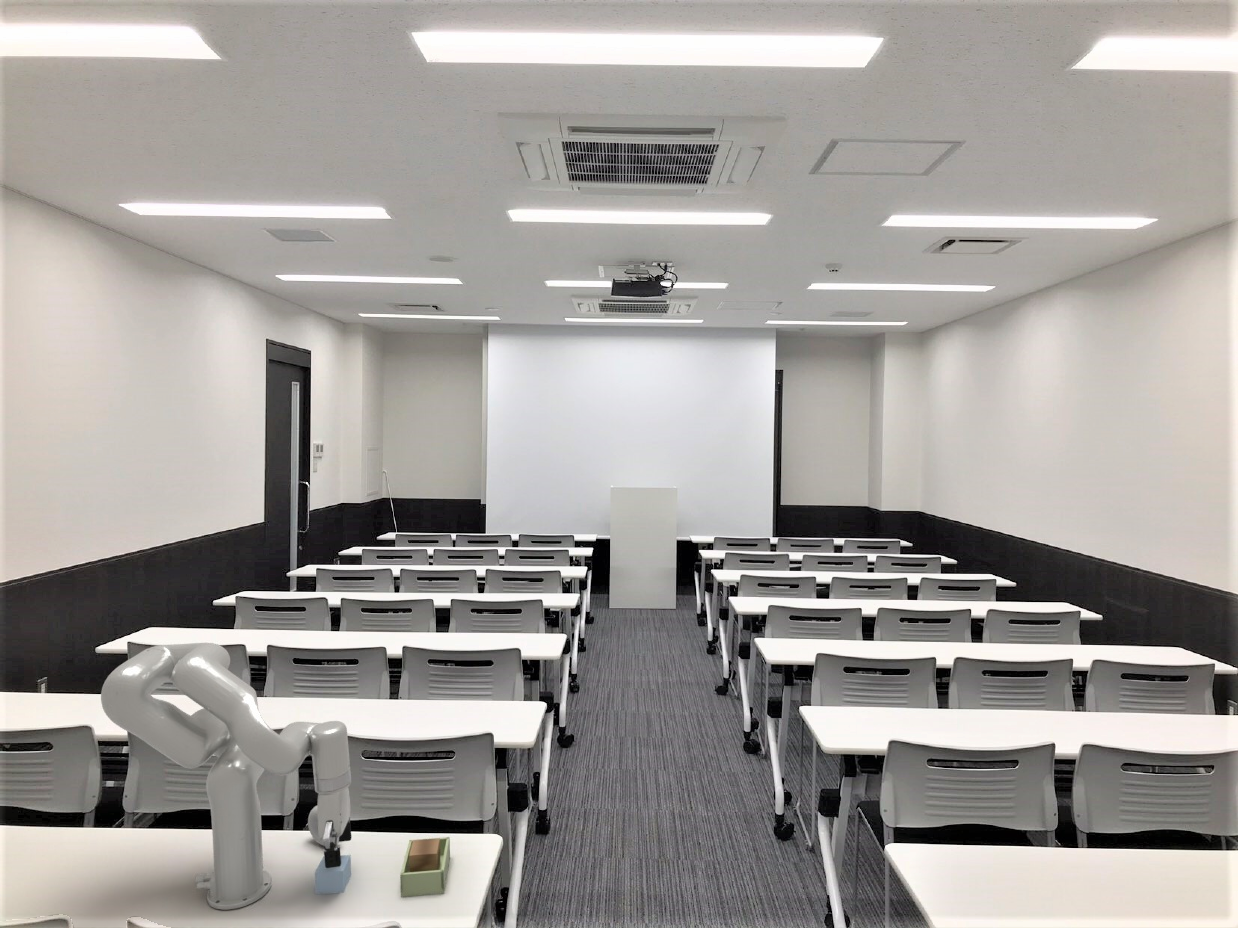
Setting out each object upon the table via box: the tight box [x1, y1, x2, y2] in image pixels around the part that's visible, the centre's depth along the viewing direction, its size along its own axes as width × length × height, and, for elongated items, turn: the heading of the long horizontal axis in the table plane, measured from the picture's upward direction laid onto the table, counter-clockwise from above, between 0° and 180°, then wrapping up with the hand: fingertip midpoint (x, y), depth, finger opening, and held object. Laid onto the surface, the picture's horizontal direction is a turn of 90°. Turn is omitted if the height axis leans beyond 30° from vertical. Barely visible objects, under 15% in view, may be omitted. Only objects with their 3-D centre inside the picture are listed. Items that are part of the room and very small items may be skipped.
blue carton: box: [314, 854, 352, 895], centre depth 166 cm, size 6×6×5 cm
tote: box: [399, 836, 451, 898], centre depth 169 cm, size 9×13×5 cm
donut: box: [307, 805, 336, 847], centre depth 181 cm, size 10×3×10 cm, turn 62°
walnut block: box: [409, 837, 441, 872], centre depth 168 cm, size 6×6×6 cm
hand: (338, 853), depth 166 cm, fingers open, 9 cm apart
